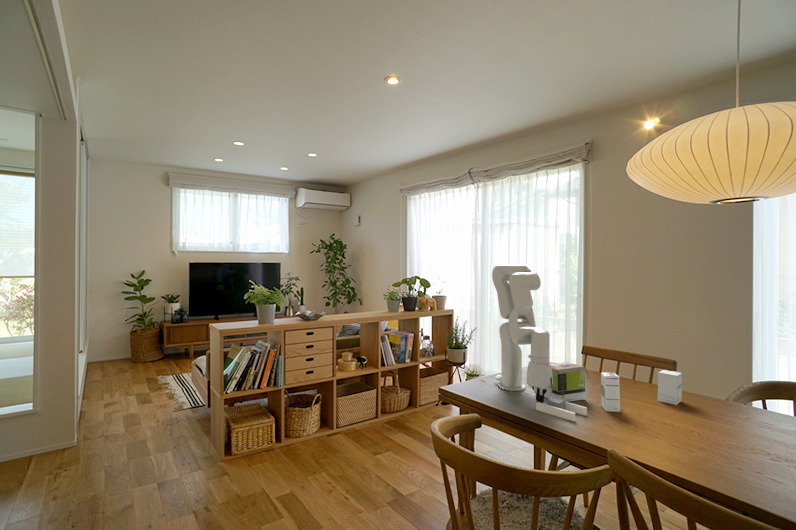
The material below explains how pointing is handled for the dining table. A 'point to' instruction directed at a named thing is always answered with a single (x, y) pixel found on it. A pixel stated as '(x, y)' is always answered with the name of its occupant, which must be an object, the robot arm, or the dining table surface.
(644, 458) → the dining table surface
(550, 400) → the block
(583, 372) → the tea box
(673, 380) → the supplement box
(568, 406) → the channel
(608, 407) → the syrup box
